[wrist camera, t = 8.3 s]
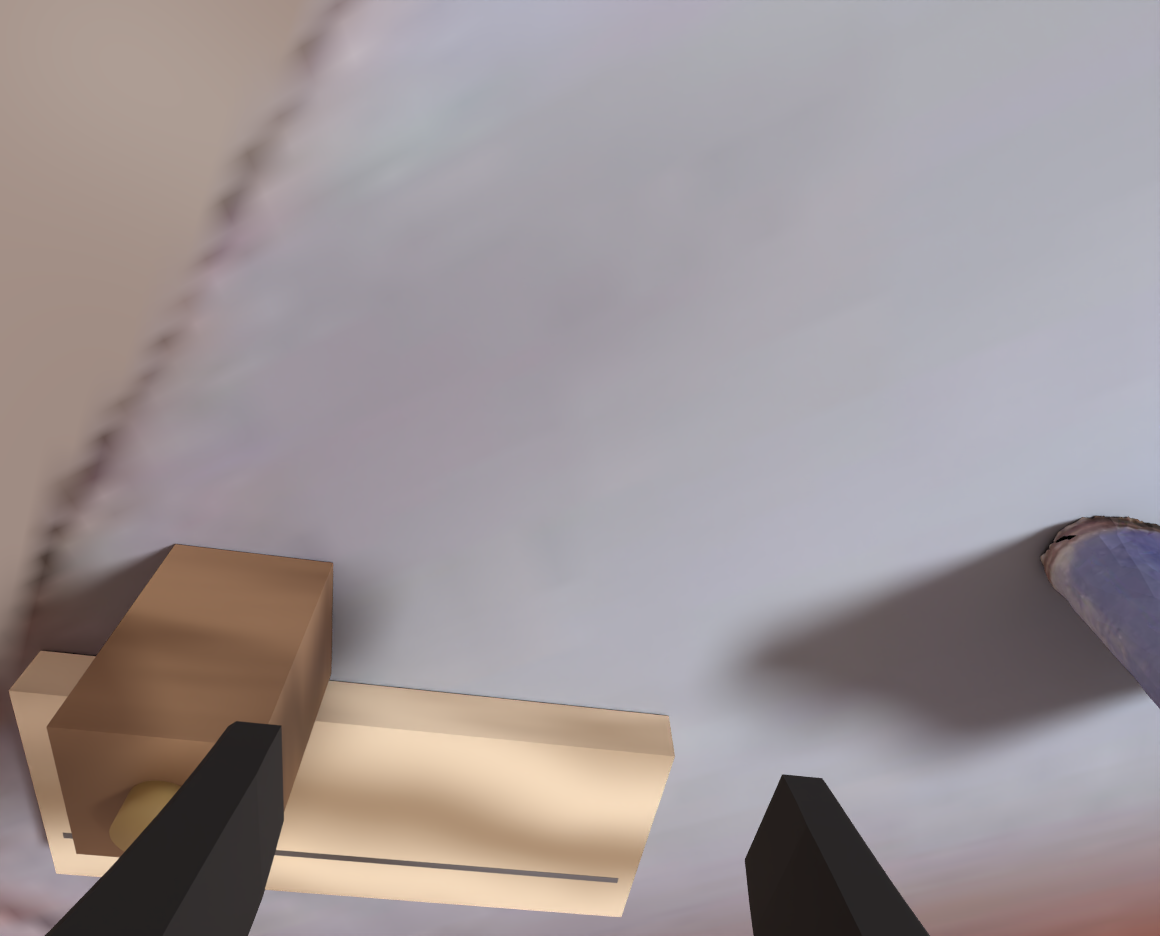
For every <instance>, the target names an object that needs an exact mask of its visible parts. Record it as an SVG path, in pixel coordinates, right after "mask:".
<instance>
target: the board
mask: <svg viewBox="0 0 1160 936" xmlns="http://www.w3.org/2000/svg"><path fill="white" fill-rule="evenodd" d="M95 657H96V656H87V655H78V654H68V653H58V652H49V651H40V652H39V653H38V654H37V656H36V657H35V658H34V659H33V661H32V662H31V663H30V664H29V666H28V667H27V668H26V669H25V671H24V672H23V673H22V675H21V676H20V677H19V678H18V680H17V681H16V682H15V683H14V685H13V686H12V687H11V688H10V690H9V694H10V698H11V702H12V706H13V709H14V713H15V717H16V721H17V725H18V729H19V732H20V736H21V740H22V744H23V748H24V751H25V755H26V759H27V763H28V767H29V770H30V774H31V778H32V782H33V786H34V790H35V793H36V797H37V801H38V805H39V809H40V812H41V816H42V820H43V824H44V828H45V832H46V835H47V839H48V843H49V847H50V851H51V854H52V858H53V862H54V866H55V870H56V874H68V875H81V876H94V877H102V876H103V875H104V874H105V873H106V872H107V871H108V870H109V869H110V868H111V866H112V865H113V864H114V863H115V862H116V861H117V860H118V859H119V858H120V857H108V856H96V855H83V854H76V850H75V846H74V842H73V837H72V833H71V829H70V825H69V820H68V816H67V812H66V808H65V804H64V799H63V795H62V791H61V787H60V782H59V778H58V774H57V770H56V766H55V761H54V757H53V753H52V749H51V744H50V740H49V736H48V732H47V728H46V727H47V725H48V724H49V722H50V721H51V719H52V718H53V717H54V715H55V714H56V712H57V711H58V710H59V708H60V707H61V705H62V704H63V703H64V701H65V700H66V698H67V697H68V695H69V694H70V693H71V691H72V690H73V688H74V687H75V686H76V684H77V683H78V681H79V680H80V678H81V677H82V676H83V674H84V673H85V671H86V670H87V669H88V667H89V666H90V664H91V663H92V661H93V660H94V659H95ZM674 757H675V755H674V748H673V742H672V735H671V728H670V722H669V716H664V715H654V714H645V713H635V712H626V711H616V710H606V709H597V708H587V707H578V706H568V705H558V704H549V703H539V702H529V701H520V700H510V699H501V698H491V697H481V696H472V695H462V694H453V693H443V692H433V691H424V690H414V689H404V688H395V687H385V686H376V685H366V684H356V683H347V682H337V681H329V682H328V685H327V687H326V690H325V693H324V696H323V699H322V702H321V705H320V708H319V711H318V714H317V717H316V720H315V723H314V726H313V729H312V732H311V735H310V738H309V741H308V743H307V746H306V749H305V752H304V755H303V758H302V761H301V764H300V767H299V770H298V773H297V776H296V779H295V782H294V785H293V788H292V791H291V794H290V796H289V799H288V802H287V805H286V808H285V811H284V822H283V826H282V829H281V833H280V837H279V840H278V844H277V848H276V851H275V855H274V859H273V862H272V866H271V870H270V873H269V877H268V880H267V884H266V887H265V890H276V891H289V892H302V893H315V894H328V895H341V896H354V897H367V898H380V899H393V900H406V901H419V902H431V903H444V904H457V905H470V906H483V907H496V908H509V909H522V910H535V911H548V912H561V913H574V914H587V915H600V916H613V917H621V916H622V913H623V910H624V907H625V904H626V901H627V898H628V895H629V892H630V889H631V886H632V883H633V880H634V877H635V874H636V871H637V868H638V865H639V862H640V859H641V856H642V853H643V850H644V847H645V844H646V841H647V838H648V835H649V832H650V829H651V826H652V823H653V820H654V817H655V814H656V811H657V808H658V805H659V802H660V799H661V796H662V793H663V790H664V787H665V784H666V781H667V778H668V775H669V772H670V769H671V766H672V763H673V760H674Z"/></svg>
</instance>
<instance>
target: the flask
mask: <svg viewBox="0 0 1160 936" xmlns="http://www.w3.org/2000/svg"><path fill="white" fill-rule="evenodd" d="M1064 535H1065V536H1068V535H1077V536H1075V537H1074V538H1072V539H1070V540H1068V539H1066V540H1063V541H1061V542H1058V543H1056V541H1057V540H1058V539H1059V538H1061V537H1063V536H1064ZM1054 541H1055V542H1054V543H1052V544H1050V546H1049V550H1047V551H1046V554H1043V555H1042V556H1040V557H1041V562H1042V564H1043V566H1044V569H1045V573H1046V576H1047V578H1048V581H1049V582H1050V583H1051V584H1052V586H1053V588H1054V589H1055V590H1056V591H1058V592H1059V593H1060V594H1061V595H1062V596H1063V597H1065V598H1066V599H1067V600H1068V601H1069V603H1070V605H1071V607H1072V608H1073V610H1074V611H1075V612H1076V613H1077V614H1078V615H1079V616H1080V617H1081V619H1082V620H1083V621H1084V622H1085V623H1086V624H1087V625H1088V626H1089V627H1090V628H1091V630H1092V631H1093V632H1094V633H1095V634H1096V635H1097V636H1098V637H1099V639H1100V640H1101V641H1102V642H1103V643H1104V644H1105V646H1106V647H1107V648H1108V649H1109V650H1110V651H1111V653H1112V654H1113V655H1114V656H1115V657H1116V658H1117V659H1118V660H1119V661H1120V662H1121V663H1122V665H1123V666H1124V667H1125V668H1126V669H1127V670H1128V671H1129V672H1130V673H1131V674H1132V675H1133V676H1134V677H1135V679H1136V680H1137V681H1138V683H1139V684H1140V685H1141V687H1142V688H1143V689H1144V691H1145V692H1146V693H1147V694H1148V696H1149V697H1150V698H1151V699H1152V700H1153V701H1154V703H1155V704H1156V705H1157V706H1158V707H1159V708H1160V526H1158V525H1157V524H1150V523H1144V522H1143V521H1139V520H1138V519H1134V518H1129V516H1128V517H1127V518H1123V517H1119V518H1114V517H1104V516H1102V517H1101V516H1095V517H1094V518H1092V519H1090V518H1085V517H1082V518H1081V519H1080V520H1078V521H1077V522H1075V523H1073V524H1071V525H1068V526H1066V527H1065V528H1064V529H1062V530H1061V531H1059V532H1058V534H1057V536H1056V537H1055V539H1054Z"/></svg>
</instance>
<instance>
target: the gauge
mask: <svg viewBox="0 0 1160 936" xmlns="http://www.w3.org/2000/svg"><path fill="white" fill-rule="evenodd" d="M332 604H333V563H329V562H321V561H313V560H304V559H296V558H287V557H279V556H270V555H262V554H254V553H245V552H237V551H228V550H220V549H212V548H203V547H195V546H186V545H178V544H175V545H174V547H173V548H172V550H171V551H170V552H169V554H168V555H167V557H166V558H165V559H164V561H163V562H162V564H161V565H160V567H159V568H158V569H157V571H156V572H155V574H154V575H153V576H152V578H151V579H150V581H149V582H148V584H147V585H146V586H145V588H144V589H143V591H142V592H141V593H140V595H139V596H138V598H137V599H136V601H135V602H134V603H133V605H132V606H131V608H130V609H129V610H128V612H127V613H126V615H125V616H124V618H123V619H122V620H121V622H120V623H119V625H118V626H117V627H116V629H115V630H114V632H113V633H112V635H111V636H110V637H109V639H108V640H107V642H106V643H105V644H104V646H103V647H102V649H101V650H100V652H99V653H98V654H97V656H96V657H95V659H94V660H93V661H92V663H91V664H90V666H89V667H88V669H87V670H86V671H85V673H84V674H83V676H82V677H81V678H80V680H79V681H78V683H77V684H76V686H75V687H74V688H73V690H72V691H71V693H70V694H69V695H68V697H67V698H66V700H65V701H64V703H63V704H62V705H61V707H60V708H59V710H58V711H57V712H56V714H55V715H54V717H53V718H52V719H51V721H50V722H49V724H48V725H47V727H46V728H47V732H48V736H49V740H50V744H51V749H52V753H53V757H54V761H55V766H56V770H57V774H58V778H59V782H60V787H61V791H62V795H63V799H64V804H65V808H66V812H67V816H68V820H69V825H70V829H71V833H72V837H73V842H74V846H75V850H76V854H83V855H96V856H108V857H120V856H121V855H122V854H123V853H124V852H125V851H126V850H127V849H128V847H129V846H130V845H131V844H132V843H133V842H134V841H135V840H136V838H137V837H138V836H139V835H140V834H141V833H142V832H143V830H144V829H145V828H146V827H147V826H148V825H149V824H150V823H151V821H152V820H153V819H154V818H155V817H156V816H157V815H158V814H159V812H160V811H161V810H162V809H163V808H164V806H165V805H166V804H167V803H168V802H169V800H170V799H171V798H172V797H173V796H174V794H175V793H176V792H177V791H178V790H179V788H180V787H181V786H182V785H183V784H184V782H185V781H186V780H187V779H188V777H189V776H190V775H191V774H192V773H193V771H194V770H195V769H196V768H197V766H198V765H199V764H200V762H201V761H202V760H203V759H204V757H205V756H206V755H207V753H208V752H209V751H210V750H211V748H212V747H213V746H214V744H215V743H216V742H217V740H218V739H219V738H220V736H221V735H222V734H223V732H224V731H225V730H226V728H227V727H228V726H229V725H231V724H232V723H234V722H236V721H241V722H251V723H261V724H272V725H282V763H283V801H284V811H285V808H286V805H287V802H288V799H289V796H290V794H291V791H292V788H293V785H294V782H295V779H296V776H297V773H298V770H299V767H300V764H301V761H302V758H303V755H304V752H305V749H306V746H307V743H308V741H309V738H310V735H311V732H312V729H313V726H314V723H315V720H316V717H317V714H318V711H319V708H320V705H321V702H322V699H323V696H324V693H325V690H326V687H327V685H328V682H329V679H330V676H331V662H332Z"/></svg>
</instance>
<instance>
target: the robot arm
mask: <svg viewBox="0 0 1160 936" xmlns="http://www.w3.org/2000/svg"><path fill="white" fill-rule="evenodd" d="M283 822H284V801H283V763H282V725H272V724H261V723H251V722H241V721H236V722H234V723H232V724H231V725H229V726H228V727H227V728H226V730H225V731H224V732H223V734H222V735H221V736H220V738H219V739H218V740H217V742H216V743H215V744H214V746H213V747H212V748H211V750H210V751H209V752H208V753H207V755H206V756H205V757H204V759H203V760H202V761H201V762H200V764H199V765H198V766H197V768H196V769H195V770H194V771H193V773H192V774H191V775H190V776H189V777H188V779H187V780H186V781H185V782H184V784H183V785H182V786H181V787H180V788H179V790H178V791H177V792H176V793H175V794H174V796H173V797H172V798H171V799H170V800H169V802H168V803H167V804H166V805H165V806H164V808H163V809H162V810H161V811H160V812H159V814H158V815H157V816H156V817H155V818H154V819H153V820H152V821H151V823H150V824H149V825H148V826H147V827H146V828H145V829H144V830H143V832H142V833H141V834H140V835H139V836H138V837H137V838H136V840H135V841H134V842H133V843H132V844H131V845H130V846H129V847H128V849H127V850H126V851H125V852H124V853H123V854H122V855H121V856H120V858H119V859H118V860H117V861H116V862H115V863H114V864H113V865H112V866H111V868H110V869H109V870H108V871H107V872H106V873H105V874H104V875H103V876H102V877H101V878H100V879H99V880H98V881H97V882H96V883H95V884H94V886H93V887H92V888H91V889H90V890H89V891H88V892H87V893H86V894H85V895H84V896H83V897H82V898H81V899H80V900H79V901H78V902H77V903H76V904H75V905H74V906H73V907H72V908H71V909H70V910H69V911H68V912H67V914H66V915H65V916H64V917H63V918H62V919H61V920H60V921H59V922H58V923H57V924H56V925H55V926H54V927H53V928H52V929H51V930H50V931H49V932H48V933H47V934H46V935H45V936H248V934H249V932H250V929H251V926H252V924H253V921H254V919H255V916H256V913H257V911H258V908H259V905H260V903H261V900H262V897H263V894H264V891H265V887H266V884H267V880H268V877H269V873H270V870H271V866H272V862H273V859H274V855H275V851H276V848H277V844H278V840H279V837H280V833H281V829H282V826H283ZM745 866H746V875H747V885H748V895H749V903H750V911H751V919H752V927H753V935H754V936H930V935H929V934H928V932H927V931H926V930H925V928H924V927H923V925H922V924H921V923H920V921H919V920H918V918H917V917H916V916H915V914H914V913H913V911H912V910H911V909H910V907H909V906H908V904H907V903H906V902H905V900H904V899H903V897H902V896H901V895H900V893H899V892H898V890H897V889H896V887H895V886H894V884H893V883H892V882H891V880H890V879H889V877H888V876H887V874H886V873H885V871H884V870H883V868H882V867H881V865H880V864H879V862H878V861H877V860H876V858H875V857H874V855H873V854H872V852H871V851H870V849H869V848H868V846H867V845H866V843H865V842H864V840H863V839H862V837H861V836H860V834H859V833H858V831H857V830H856V828H855V827H854V825H853V824H852V822H851V821H850V819H849V818H848V816H847V815H846V813H845V812H844V810H843V808H842V807H841V805H840V804H839V802H838V801H837V799H836V798H835V796H834V795H833V793H832V792H831V790H830V789H829V788H828V786H827V785H826V783H825V782H824V780H823V779H822V778H813V777H803V776H793V775H783V774H782V776H781V779H780V781H779V783H778V786H777V788H776V790H775V792H774V795H773V797H772V799H771V801H770V804H769V806H768V808H767V811H766V813H765V815H764V817H763V820H762V822H761V824H760V826H759V829H758V831H757V833H756V836H755V838H754V840H753V842H752V845H751V847H750V849H749V851H748V854H747V856H746V858H745Z"/></svg>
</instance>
